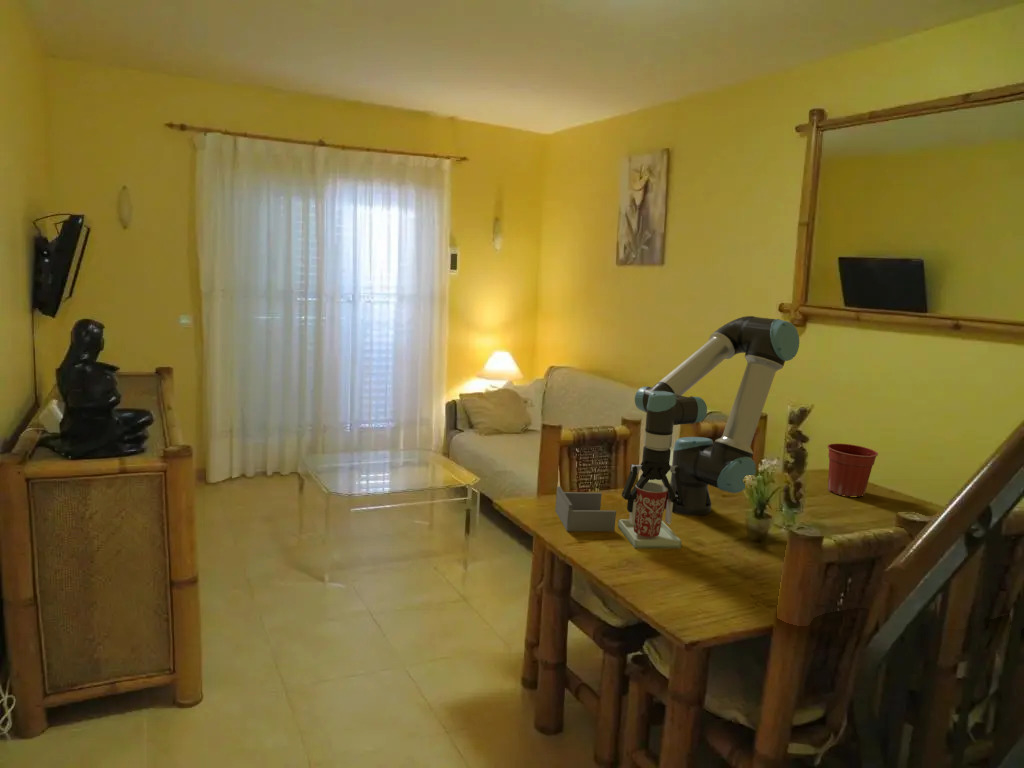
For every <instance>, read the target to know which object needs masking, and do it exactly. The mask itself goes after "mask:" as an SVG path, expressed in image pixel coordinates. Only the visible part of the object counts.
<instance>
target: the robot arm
mask: <svg viewBox="0 0 1024 768" xmlns="http://www.w3.org/2000/svg"><path fill="white" fill-rule="evenodd" d="M799 348H800V335H799V331H798V328H797V327H796V326H795V324H793V323H792V322H790V321H787V320H782V319H780V318H777V319H775V318H768V317H759V316H754V315H746V316H742V317H738V318H736V319H733V320H731V321H729V322H727V323H725V324H724V325H722V326H721V327H719V328H717V330H715V331H714V332H712V333H711V334H710V336H709V337H708V340H707V342H705V344H703V345H701V346H700V347H699V348H698V349H697V350H696V351H694V353H692V354H690V356H688V357H687V358H686V359H684V361H682V362H681V363H680V364H679V365H677V366H676V367H675V368H674V369H673V370H671V371H670V372H669V373H668V374H666V375H665V376H664V377H663V378H662V379H660V380H659V381H658V382H657V383H656V384H654V385H653V386H652V387H651V386H641V387H640V388H639V389H638V390H637V391H636V393H635V395H634V405H635V407H636V408H637V409H638V410H640V411H642V412H644V413H646V415H645V416H646V417H645V429H644V441H643V444H644V446H643V449H642V457H641V458H642V461H641V463H640V464H634V463H632V464H631V465H630V468H629V469H630V471H629V474H628V477H627V480H626V482H625V485H624V487H623V490H622V492H621V497H622V498H623V499H624V500H627V507H626V509H627V511H628V512H629V515H628V516H629V517H628V519H629V521H630V523H631V524H635V514H636V503H637V502H636V501H635V498H636V497H637V489H636V487H635V485H637V487H638V488H640V489H642V488H643V487H644V485H645V484H646V483H647V482H650V481H654V480H656V481H657V480H658V481H661V482H662V485H664V486H665V487H666V488H668V491H667V493H668V495H669V496H668V499H667V505H666V507H665V516H664V517H665V518H664V523H665V524H666V525H667V524H668V525H672V516H673V513H676V514H680V515H686V516H704V515H708V514H710V513H711V511H712V501H711V497H710V491H709V487H708V486H711V487H714V488H717V489H719V490H721V491H722V492H723V491H724V492H728V493H730V494H738V493H741V492H743V491H744V490H746V489H745V483H744V482H743V479H744V477H745V476H746V475H755V476H756V472H757V469H756V463H755V461H754V460H753V456H754V455H753V454H754V452H753V450H752V448H751V445H752V441H753V439H754V436H755V433H756V430H757V428H758V424H759V422H760V419H761V415H762V413H763V410H764V407H765V403H766V402H767V398H768V395H769V393H770V390H771V387H772V384H773V381H774V378H775V375H776V373H777V372H778V371H779V370H781V369H783V368H784V367H785V366H784V365H785V363H786V362H788V361H791V360H793V359H794V358H795V357H796V355H797V354H798V352H799ZM744 353H745V354H744ZM738 354H744V358H745V360H746V362H747V364H746V367H745V370H744V373H743V375H742V379H741V381H740V385H739V386H738V390H737V392H736V396H735V398H734V400H733V404H732V407H731V410H730V413H729V416H728V418H727V421H726V425H725V427H724V429H723V430H724V431H723V433H722V436H721V437H720V438H719V437H718V438H717V439H715V441H713V439H712V438H708V437H702V436H684V437H679V438H678V439H676V440H675V441H674V447H673V450H671V449H670V448H671V447H672V442H673V441H672V440H673V433H674V426H679V425H680V426H681V425H689V424H697V423H700V422H702V421H703V420H705V419H706V417H707V413H708V406H707V403H706V401H705V400H704V399H703V398H702V397H699V396H693V395H692V396H683V395H684V394H685V393H686V392H688V391H689V390H691V388H692V387H693V386H695V385H696V384H697V383H698V382H699V381H701V380H702V379H703V378H704V377H705V376H706V375H708V374H709V373H710V372H712V371H713V370H714V369H715V368H716V367H717V366H718V365H719V364H722V362H723V361H724V360H729V359H732V358H733V357H734V356H735V355H738ZM671 451H672V452H671ZM671 453H673V454H672V465H670V460H671ZM640 470H641V471H642V472H641V475H640V476H639V479H638V480H637V481H636V479H637V476H638V473H639V472H640ZM669 472H671V474H670V475H671V477H670V482H669V479H668V477H667V474H668V473H669ZM635 481H636V483H635ZM634 484H635V485H634ZM668 525H667V526H668Z"/></svg>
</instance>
